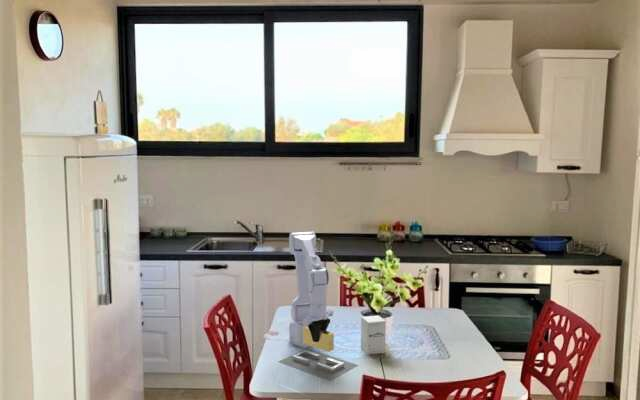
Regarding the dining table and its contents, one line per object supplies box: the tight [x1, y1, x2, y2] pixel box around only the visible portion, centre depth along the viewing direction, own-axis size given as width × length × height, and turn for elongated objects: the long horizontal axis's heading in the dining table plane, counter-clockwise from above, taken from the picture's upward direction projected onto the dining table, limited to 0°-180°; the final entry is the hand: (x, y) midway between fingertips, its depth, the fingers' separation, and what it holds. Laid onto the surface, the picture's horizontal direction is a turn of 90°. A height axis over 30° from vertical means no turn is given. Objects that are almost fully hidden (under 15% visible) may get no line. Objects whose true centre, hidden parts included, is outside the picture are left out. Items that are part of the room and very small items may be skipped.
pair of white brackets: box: [293, 349, 344, 374], centre depth 183 cm, size 18×7×2 cm, turn 50°
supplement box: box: [360, 315, 387, 355], centre depth 195 cm, size 7×7×13 cm
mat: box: [277, 347, 359, 382], centre depth 183 cm, size 24×16×1 cm, turn 50°
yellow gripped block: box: [303, 326, 335, 352], centre depth 182 cm, size 12×3×6 cm, turn 50°
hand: (318, 340), depth 182 cm, fingers closed on yellow gripped block, 3 cm apart
